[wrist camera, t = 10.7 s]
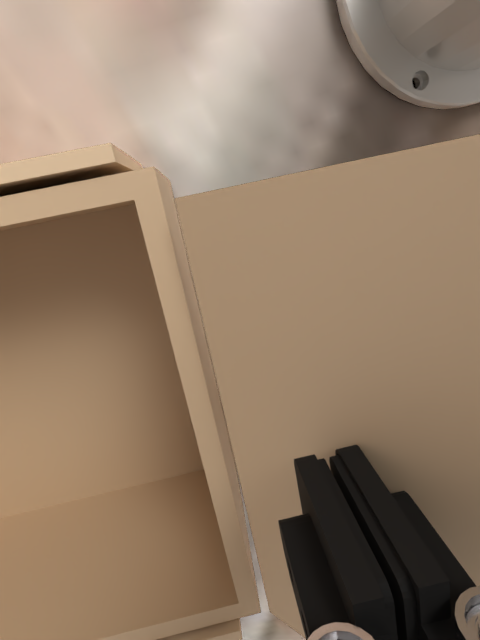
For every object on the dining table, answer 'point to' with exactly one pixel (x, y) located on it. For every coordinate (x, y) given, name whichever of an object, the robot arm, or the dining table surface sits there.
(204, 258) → the flap
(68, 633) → the carton
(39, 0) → the dining table surface
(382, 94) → the dining table surface
